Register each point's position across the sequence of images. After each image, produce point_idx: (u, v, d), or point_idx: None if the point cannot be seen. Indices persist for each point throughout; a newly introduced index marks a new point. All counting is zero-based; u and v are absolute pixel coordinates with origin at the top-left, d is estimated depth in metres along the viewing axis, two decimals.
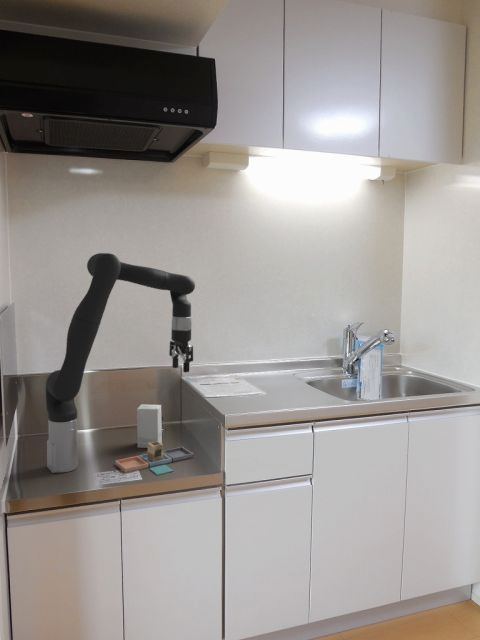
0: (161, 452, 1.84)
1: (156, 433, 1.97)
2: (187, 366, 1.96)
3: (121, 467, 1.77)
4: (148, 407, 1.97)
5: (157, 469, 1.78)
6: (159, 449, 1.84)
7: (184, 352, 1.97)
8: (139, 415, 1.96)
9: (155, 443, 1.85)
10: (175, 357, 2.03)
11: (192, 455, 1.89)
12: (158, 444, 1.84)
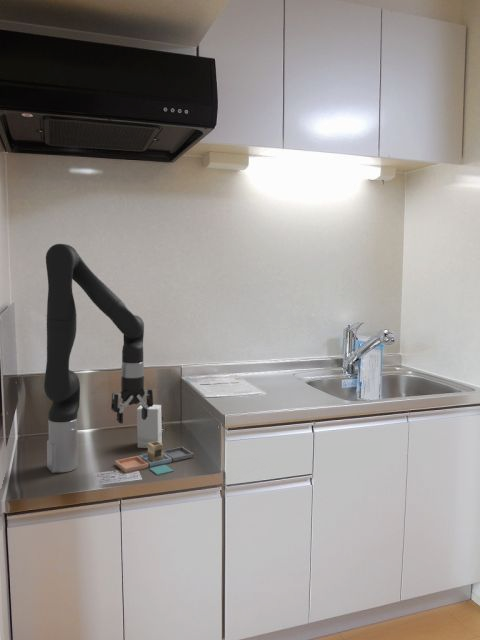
0: (161, 452, 1.84)
1: (156, 433, 1.97)
2: None
3: (121, 467, 1.77)
4: None
5: (157, 469, 1.78)
6: (159, 449, 1.84)
7: None
8: (139, 415, 1.96)
9: (155, 443, 1.85)
10: None
11: (192, 455, 1.89)
12: (158, 444, 1.84)
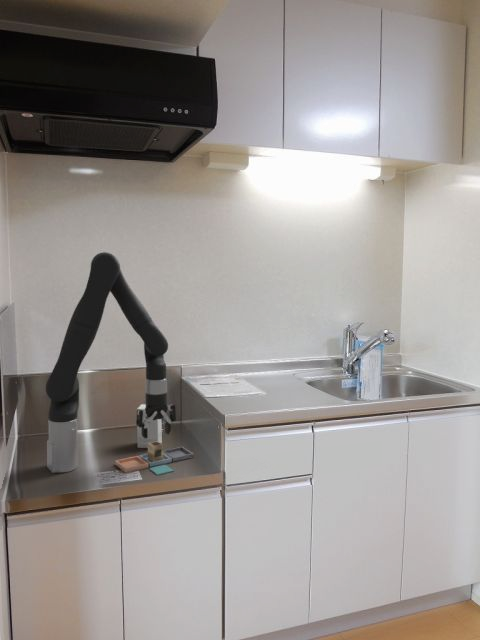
0: (161, 452, 1.84)
1: (156, 433, 1.97)
2: None
3: (121, 467, 1.77)
4: None
5: (157, 469, 1.78)
6: (159, 449, 1.84)
7: None
8: None
9: (155, 443, 1.85)
10: None
11: (192, 455, 1.89)
12: (158, 444, 1.84)
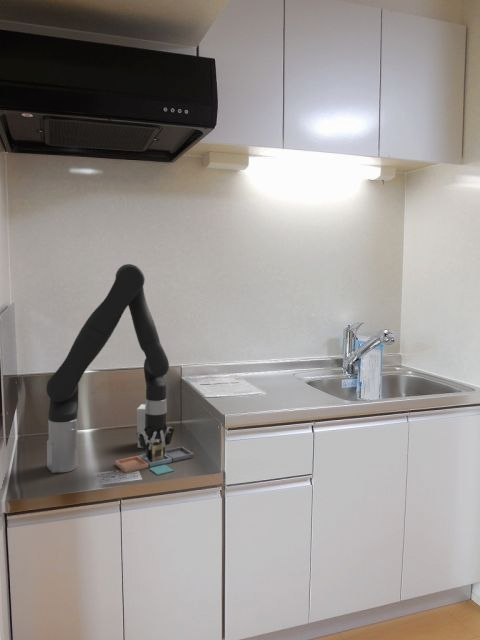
0: (161, 452, 1.84)
1: None
2: None
3: (121, 467, 1.77)
4: None
5: (157, 469, 1.78)
6: (159, 449, 1.84)
7: None
8: (138, 415, 1.96)
9: (155, 443, 1.85)
10: None
11: (192, 455, 1.89)
12: (158, 444, 1.84)
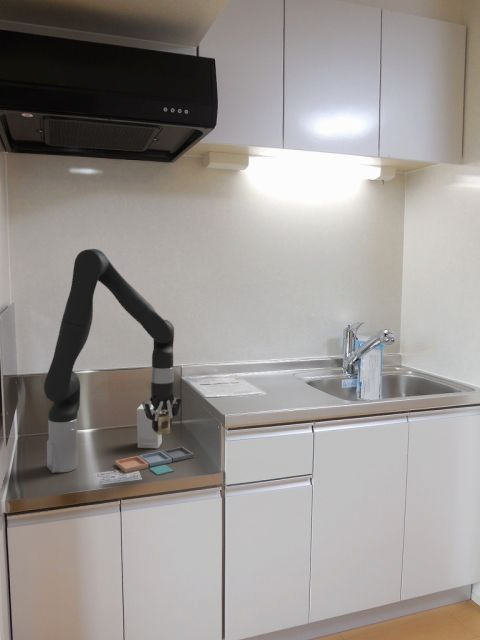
0: (168, 424, 1.75)
1: (156, 433, 1.97)
2: None
3: (121, 467, 1.77)
4: None
5: (157, 469, 1.78)
6: (166, 421, 1.74)
7: None
8: (138, 415, 1.96)
9: (162, 414, 1.75)
10: None
11: (192, 455, 1.89)
12: (164, 415, 1.75)
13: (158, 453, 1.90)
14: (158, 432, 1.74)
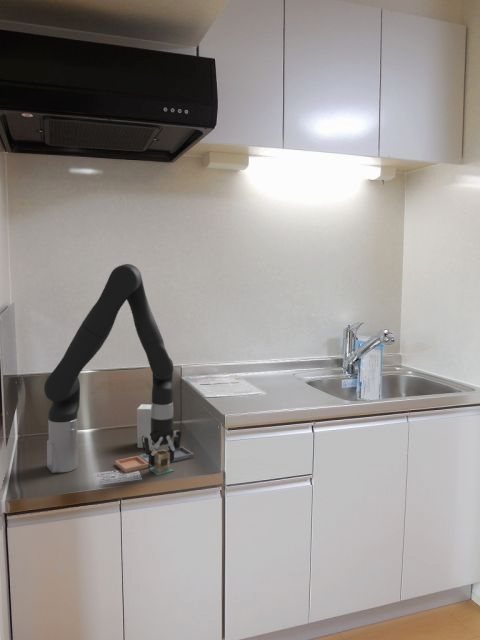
0: (167, 461, 1.76)
1: None
2: None
3: (121, 467, 1.77)
4: (148, 407, 1.97)
5: None
6: (165, 458, 1.76)
7: None
8: (138, 415, 1.96)
9: (161, 452, 1.77)
10: None
11: (192, 455, 1.89)
12: (164, 452, 1.76)
13: None
14: (158, 470, 1.75)
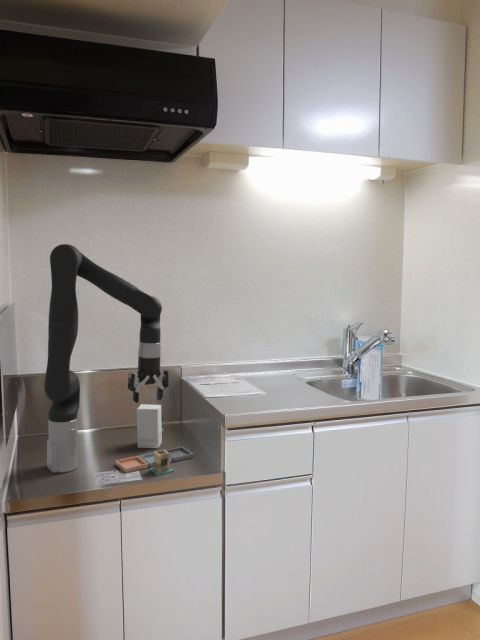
0: (167, 461, 1.76)
1: (156, 433, 1.97)
2: None
3: (121, 467, 1.77)
4: (148, 407, 1.97)
5: None
6: (165, 458, 1.76)
7: None
8: (138, 415, 1.96)
9: (161, 452, 1.77)
10: None
11: (192, 455, 1.89)
12: (164, 452, 1.76)
13: None
14: (158, 470, 1.75)
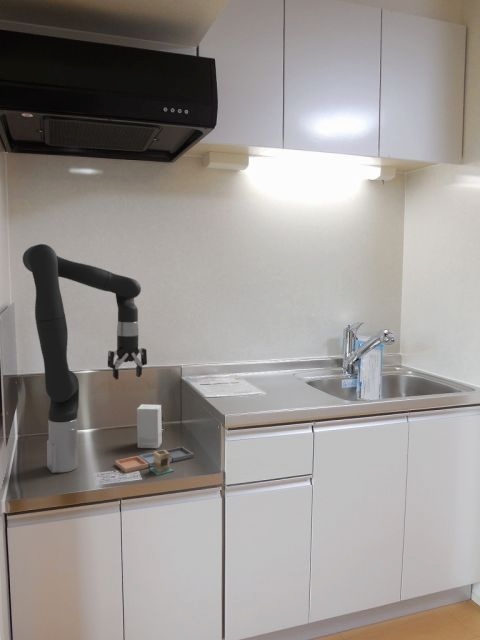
0: (167, 461, 1.76)
1: (156, 433, 1.97)
2: None
3: (121, 467, 1.77)
4: (148, 407, 1.97)
5: None
6: (165, 458, 1.76)
7: None
8: (138, 415, 1.96)
9: (161, 452, 1.77)
10: None
11: (192, 455, 1.89)
12: (164, 452, 1.76)
13: None
14: (158, 470, 1.75)
